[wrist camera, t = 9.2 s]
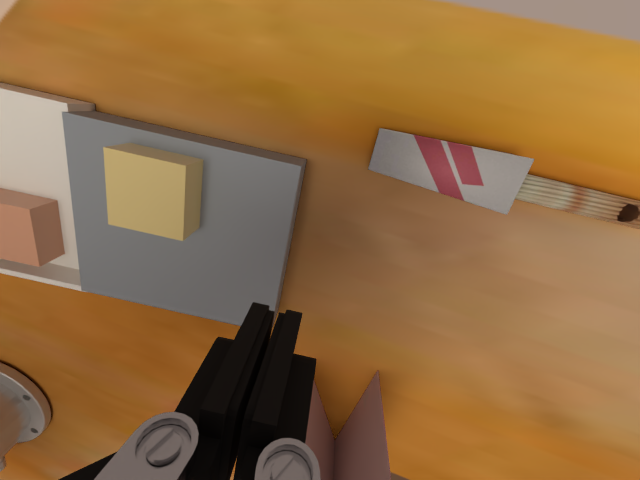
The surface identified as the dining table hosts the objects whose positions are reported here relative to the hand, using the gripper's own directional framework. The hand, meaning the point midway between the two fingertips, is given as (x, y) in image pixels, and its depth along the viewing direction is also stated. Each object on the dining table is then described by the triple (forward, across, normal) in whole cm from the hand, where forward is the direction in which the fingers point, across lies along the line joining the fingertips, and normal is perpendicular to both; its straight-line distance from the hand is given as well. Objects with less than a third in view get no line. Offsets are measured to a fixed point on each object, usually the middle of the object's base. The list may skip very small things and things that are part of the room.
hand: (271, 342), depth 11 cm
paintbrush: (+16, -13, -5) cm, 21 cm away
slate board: (+15, +10, +4) cm, 18 cm away
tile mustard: (+12, +10, 0) cm, 16 cm away
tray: (+15, +22, +4) cm, 27 cm away
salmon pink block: (+12, +23, +7) cm, 27 cm away
